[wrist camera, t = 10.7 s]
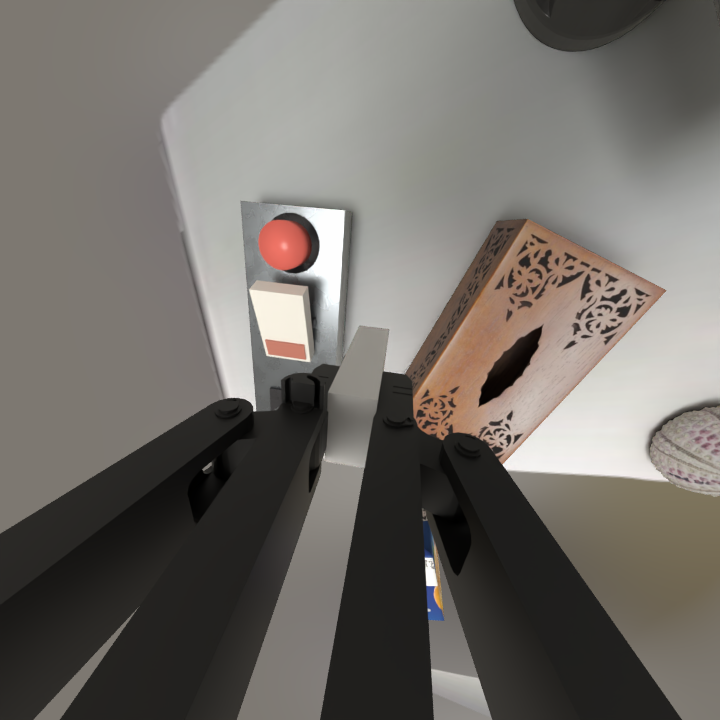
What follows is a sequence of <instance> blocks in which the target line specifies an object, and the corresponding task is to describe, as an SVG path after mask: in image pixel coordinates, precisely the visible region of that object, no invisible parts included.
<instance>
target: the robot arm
mask: <svg viewBox="0 0 720 720" xmlns="http://www.w3.org/2000/svg"><path fill="white" fill-rule="evenodd" d="M514 1H515V5H516V8H517V10H518V13H519V15H520V17H521V19H522V21H523V22H524V24H525V25H526V27H527V28H528V29H529V31H530V32H531V33H532V34H533V35H534V36H535V37H536V38H537V39H539V40H540V41H541V42H543V43H545V44H546V45H548V46H551V47H553V48H556V49H560V50H565V51H582V50H588V49H593V48H596V47H599V46H602V45H605V44H607V43H609V42H612V41H613V40H615V39H617V38H619V37H621V36H622V35H624V34H626V33H627V32H629V31H630V30H631V29H633V28H634V27H635V26H637V25H638V24H639V23H640V22H642V21H643V20H644V19H645V18H646V17H647V16H648V15H650V14H651V13H652V12H653V11H654V10H655V9H656V8H658V7H659V6H660V5H661V4H662V3H663V2H664V1H665V0H514ZM714 4H715V8H716V13H717V17H718V21H719V25H720V0H714ZM388 335H389V329H382V328H374V327H367V326H359V328H358V330H357V332H356V334H355V336H354V338H353V341H352V343H351V345H350V347H349V349H348V351H347V353H346V355H345V357H344V360H343V362H342V364H341V366H336V365H329V364H321V365H320V366H318V367H316V368H314V370H313V371H312V373H311V374H310V373H295V374H291V375H288V376H285V377H284V378H283V379H282V380H281V399H282V404H281V405H280V406H279V408H278V409H277V410H272V411H256V412H253V406H252V404H251V403H250V402H249V401H247V400H245V399H240V398H227V399H223V400H219V401H217V402H215V403H213V404H211V405H209V406H207V407H206V408H204V409H202V410H201V411H199V412H198V413H196V414H194V415H193V416H191V417H189V418H188V419H186V420H185V421H183V422H181V423H180V424H178V425H176V426H175V427H173V428H172V429H170V430H169V431H167V432H165V433H164V434H162V435H160V436H159V437H157V438H155V439H154V440H152V441H151V442H149V443H147V444H146V445H144V446H142V447H141V448H139V449H137V450H136V451H134V452H133V453H131V454H129V455H128V456H126V457H125V458H123V459H121V460H120V461H118V462H117V463H115V464H113V465H111V466H110V467H108V468H107V469H105V470H103V471H102V472H100V473H98V474H97V475H95V476H94V477H92V478H90V479H89V480H87V481H86V482H84V483H82V484H81V485H79V486H77V487H76V488H74V489H72V490H71V491H69V492H68V493H66V494H64V495H63V496H61V497H59V498H58V499H56V500H55V501H53V502H51V503H50V504H48V505H46V506H45V507H43V508H42V509H40V510H38V511H37V512H35V513H33V514H32V515H30V516H29V517H27V518H25V519H24V520H22V521H20V522H19V523H17V524H16V525H14V526H12V527H11V528H9V529H7V530H6V531H4V532H2V533H1V534H0V720H33V719H34V718H35V717H36V716H37V715H38V714H39V713H40V712H41V711H42V710H43V709H44V708H45V707H46V705H47V704H48V703H49V702H50V701H51V700H52V699H53V698H54V697H55V696H56V695H57V693H59V692H60V690H61V689H62V688H63V687H64V686H65V685H66V684H67V683H68V682H69V681H70V680H71V679H72V677H74V675H75V674H76V673H77V672H78V671H79V670H80V669H81V668H82V667H83V666H84V665H85V664H86V663H87V662H88V660H89V659H90V658H91V657H92V656H93V655H94V654H95V653H96V652H97V651H98V650H99V648H101V647H102V646H103V644H104V643H105V642H106V641H107V640H108V639H109V638H110V637H111V636H112V635H113V634H114V633H115V632H116V631H117V629H118V628H119V627H120V626H121V625H122V624H123V623H124V622H125V621H126V620H127V619H128V618H129V617H130V616H131V614H132V613H133V612H134V611H135V610H136V609H137V608H138V607H139V608H138V609H137V611H136V612H135V613H134V615H133V616H132V618H131V619H130V621H129V622H128V623H127V625H126V627H125V628H124V629H123V631H122V632H121V633H120V635H119V636H118V638H117V639H116V641H115V642H114V643H113V645H112V646H111V648H110V649H109V651H108V652H107V653H106V655H105V656H104V658H103V659H102V661H101V662H100V663H99V665H98V667H97V668H96V669H95V670H94V672H93V673H92V675H91V676H90V678H89V679H88V680H87V682H86V683H85V685H84V686H83V688H82V689H81V690H80V692H79V693H78V695H77V696H76V698H75V699H74V700H73V702H72V703H71V705H70V706H69V708H68V709H67V710H66V712H65V713H64V715H63V716H62V718H61V719H60V720H237V717H238V714H239V711H240V708H241V705H242V702H243V699H244V696H245V694H246V690H247V688H248V685H249V682H250V679H251V676H252V673H253V670H254V667H255V664H256V661H257V658H258V656H259V653H260V650H261V647H262V643H263V641H264V638H265V635H266V632H267V629H268V626H269V623H270V620H271V618H272V615H273V612H274V609H275V606H276V603H277V600H278V597H279V594H280V591H281V588H282V585H283V582H284V580H285V576H286V574H287V571H288V568H289V565H290V562H291V559H292V556H293V553H294V550H295V547H296V544H297V541H298V539H299V536H300V533H301V530H302V527H303V524H304V521H305V518H306V515H307V512H308V509H309V506H310V504H311V500H312V498H313V495H314V492H315V489H316V486H317V483H318V480H319V477H320V474H321V461H322V458H323V456H324V453H325V462H331V463H337V464H342V465H348V466H354V467H360V468H364V474H363V479H362V485H361V491H360V496H359V502H358V508H357V513H356V519H355V525H354V531H353V536H352V542H351V547H350V553H349V559H348V565H347V570H346V576H345V582H344V587H343V593H342V599H341V604H340V610H339V616H338V621H337V627H336V633H335V639H334V645H333V650H332V655H331V661H330V667H329V672H328V678H327V684H326V689H325V695H324V701H323V707H322V712H321V718H320V720H434V717H433V716H434V715H433V698H432V678H431V660H430V642H429V623H428V605H427V587H426V568H425V550H424V532H423V513H422V508H423V509H425V512H426V517H427V520H428V523H429V526H430V529H431V532H432V536H433V539H434V542H435V545H436V548H437V551H438V554H439V557H440V560H441V563H442V566H443V569H444V572H445V575H446V579H447V581H448V585H449V588H450V591H451V594H452V597H453V600H454V603H455V606H456V609H457V612H458V615H459V618H460V622H461V624H462V627H463V631H464V634H465V637H466V640H467V643H468V646H469V649H470V652H471V655H472V658H473V661H474V664H475V668H476V671H477V674H478V677H479V680H480V683H481V686H482V689H483V692H484V695H485V698H486V701H487V704H488V708H489V711H490V714H491V717H492V720H682V719H681V718H680V717H679V715H678V714H677V712H676V711H675V709H674V708H673V706H672V705H671V704H670V702H669V701H668V699H667V698H666V696H665V695H664V694H663V692H662V691H661V689H660V688H659V687H658V685H657V684H656V682H655V681H654V679H653V678H652V677H651V675H650V674H649V672H648V671H647V670H646V668H645V667H644V665H643V664H642V662H641V661H640V660H639V658H638V657H637V655H636V654H635V652H634V651H633V650H632V648H631V647H630V645H629V644H628V643H627V641H626V640H625V638H624V637H623V635H622V634H621V633H620V631H619V630H618V628H617V627H616V626H615V624H614V623H613V621H612V620H611V618H610V617H609V616H608V614H607V613H606V611H605V610H604V608H603V607H602V606H601V604H600V603H599V601H598V600H597V599H596V597H595V596H594V594H593V593H592V591H591V590H590V589H589V587H588V586H587V585H586V583H585V581H584V580H583V579H582V577H581V576H580V574H579V573H578V572H577V570H576V569H575V567H574V566H573V564H572V563H571V562H570V560H569V559H568V557H567V556H566V555H565V553H564V552H563V550H562V549H561V548H560V546H559V545H558V543H557V542H556V540H555V539H554V538H553V536H552V535H551V533H550V532H549V531H548V529H547V528H546V526H545V525H544V523H543V522H542V521H541V519H540V518H539V516H538V515H537V513H536V512H535V511H534V509H533V508H532V506H531V505H530V504H529V502H528V501H527V499H526V498H525V497H524V495H523V494H522V492H521V491H520V489H519V488H518V486H517V485H516V484H515V482H514V481H513V479H512V478H511V476H510V475H509V474H508V472H507V471H506V469H505V468H504V467H503V465H502V464H501V462H500V461H499V459H498V458H497V457H496V455H495V454H494V452H493V451H492V449H491V448H490V447H489V446H488V445H487V444H486V443H485V442H484V441H482V440H481V439H479V438H477V437H475V436H473V435H470V434H467V433H460V432H456V433H450V434H448V435H447V436H445V438H444V440H441V439H438V438H435V437H433V436H431V435H429V434H427V433H425V432H424V431H422V430H421V429H420V428H419V427H418V424H417V422H416V419H415V418H414V411H413V390H412V389H413V387H412V381H411V379H410V378H409V377H408V376H407V375H404V374H397V373H391V372H384V364H385V357H386V349H387V342H388ZM210 462H212V466H210V467H209V468H208V469H206V470H205V471H203V470H202V469H203V468H204V467H205V466H207V465H208V464H209V463H210Z"/></svg>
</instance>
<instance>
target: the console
mask: <svg viewBox="0 0 720 720" xmlns="http://www.w3.org/2000/svg"><path fill="white" fill-rule="evenodd" d="M241 214H242V227H243V240H244V253H245V266H246V279H247V292H248V305H249V319H250V332H251V345H252V358H253V371H254V384H255V397H256V410H257V411H272V410H274V409H276V408H277V407H279V406H280V405H281V404H282V399H281V380H282V379H283V378H284V377H285V376H288V375H291V374H295V373H310V374H311V373H312V371H313V370H314V368H316V367H318V366H320V365H321V364H329V365H336V366H341V364H342V356H343V341H344V326H345V312H346V297H347V283H348V268H349V254H350V239H351V225H352V212H348V211H343V210H333V209H322V208H312V207H301V206H290V205H280V204H269V203H258V202H248V201H241ZM273 220H291V221H295V222H297V223H299V224H301V225H302V226H303V227H304V228H305V229H306V230H307V232H308V233H309V235H310V238H311V242H312V250H311V254H310V256H309V258H308V260H307V261H306V262H305V263H304V264H302V265H300V266H297V267H295V268H292V269H289V270H278V269H275V268H273V267H272V266H270V265H269V264H268V263H267V262H266V261H265V260H264V258H263V257H262V255H261V253H260V250H259V244H258V239H259V234H260V232H261V230H262V228H263V227H264V226H265V225H266V224H267V223H268V222H270V221H273ZM256 280H258V281H267V282H275V283H283V284H292V285H300V286H308V292H309V302H310V311H311V321H312V331H313V341H314V351H315V352H314V355H313V357H312V360H311V362H305V361H298V360H291V359H284V358H277V357H270V356H266V352H265V348H264V344H263V341H262V337H261V333H260V329H259V325H258V322H257V318H256V314H255V310H254V306H253V303H252V299H251V295H250V291H249V289H250V288H251V286H252V285H253V284H254V283H255V282H256Z"/></svg>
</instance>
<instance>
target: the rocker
mask: <svg viewBox="0 0 720 720" xmlns="http://www.w3.org/2000/svg"><path fill="white" fill-rule="evenodd" d="M249 291H250V295H251V299H252V303H253V306H254V310H255V314H256V318H257V322H258V325H259V329H260V333H261V337H262V341H263V344H264V348H265V352H266V356H270V357H277V358H284V359H291V360H298V361H305V362H311V360H312V357H313V355H314V352H315V351H314V341H313V331H312V321H311V311H310V302H309V292H308V286H300V285H292V284H283V283H275V282H267V281H258V280H256V282H255V283H254V284H253V285H252V286H251V288H250V289H249Z"/></svg>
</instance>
